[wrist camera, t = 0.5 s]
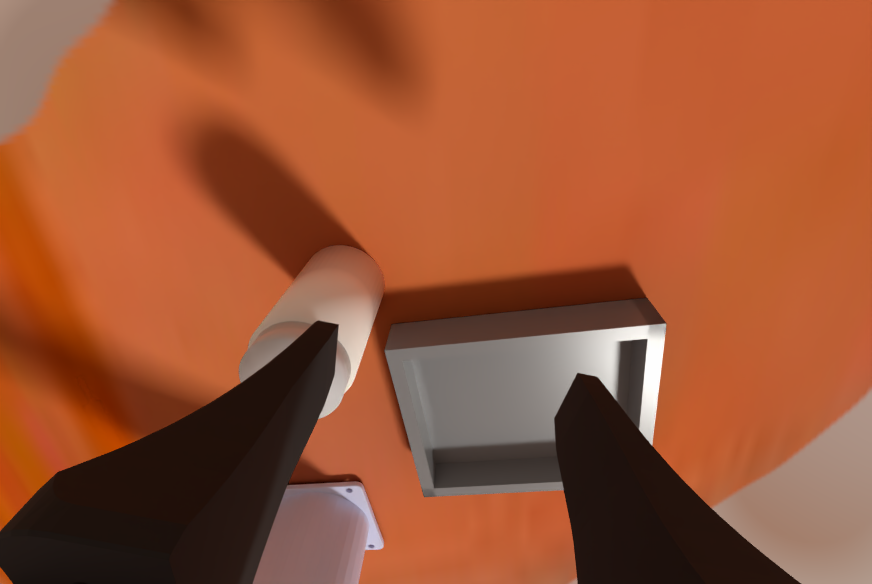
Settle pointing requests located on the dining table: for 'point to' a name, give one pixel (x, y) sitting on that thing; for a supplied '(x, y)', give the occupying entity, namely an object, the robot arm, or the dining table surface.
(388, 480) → the dining table surface
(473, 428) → the tray
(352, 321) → the shaker
